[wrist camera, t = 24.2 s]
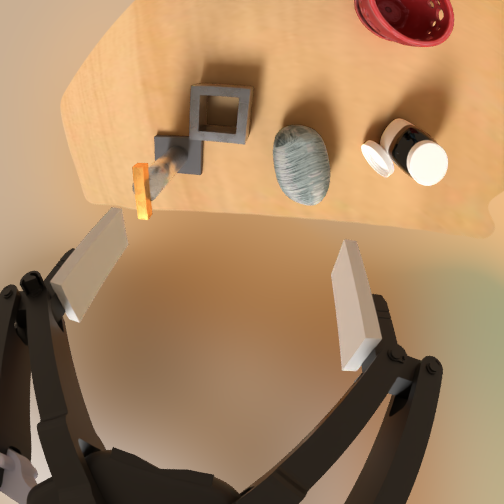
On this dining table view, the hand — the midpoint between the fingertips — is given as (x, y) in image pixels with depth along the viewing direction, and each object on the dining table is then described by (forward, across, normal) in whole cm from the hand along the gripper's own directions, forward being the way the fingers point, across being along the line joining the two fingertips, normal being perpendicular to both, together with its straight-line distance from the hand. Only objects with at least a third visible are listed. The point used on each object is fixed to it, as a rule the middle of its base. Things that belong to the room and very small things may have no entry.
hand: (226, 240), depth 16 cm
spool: (+35, +7, -6) cm, 36 cm away
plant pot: (+35, +17, +24) cm, 46 cm away
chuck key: (+34, -15, -8) cm, 38 cm away
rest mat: (+35, -15, -8) cm, 39 cm away
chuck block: (+35, -7, +1) cm, 35 cm away
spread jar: (+35, +23, 0) cm, 42 cm away
